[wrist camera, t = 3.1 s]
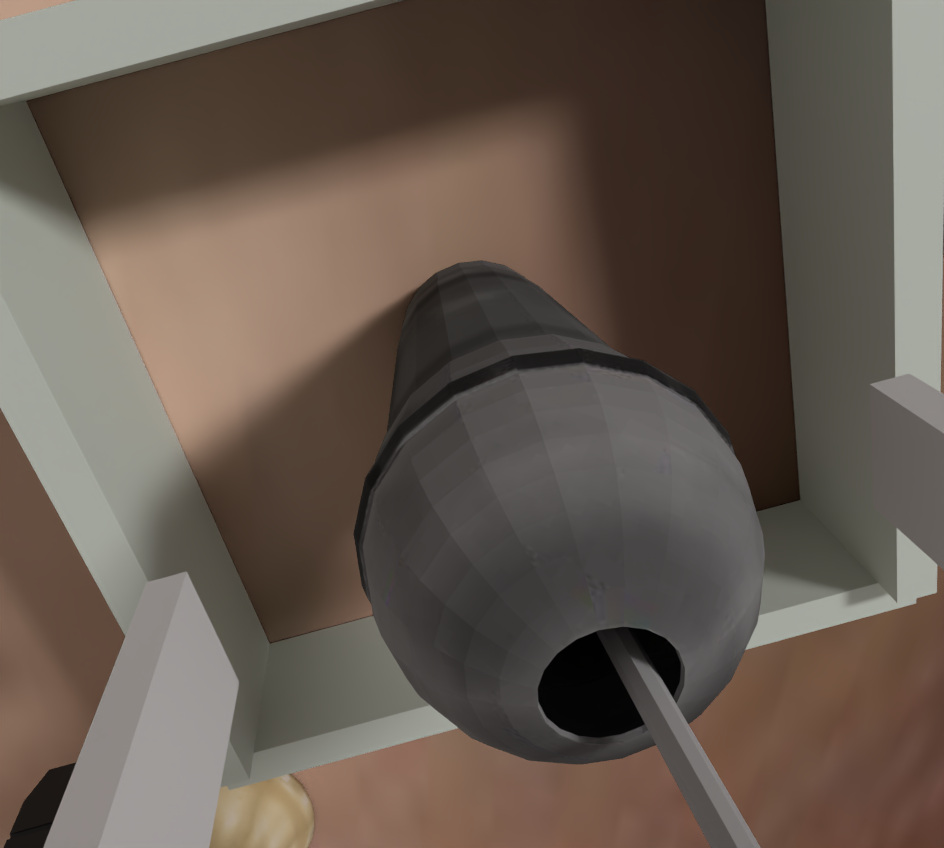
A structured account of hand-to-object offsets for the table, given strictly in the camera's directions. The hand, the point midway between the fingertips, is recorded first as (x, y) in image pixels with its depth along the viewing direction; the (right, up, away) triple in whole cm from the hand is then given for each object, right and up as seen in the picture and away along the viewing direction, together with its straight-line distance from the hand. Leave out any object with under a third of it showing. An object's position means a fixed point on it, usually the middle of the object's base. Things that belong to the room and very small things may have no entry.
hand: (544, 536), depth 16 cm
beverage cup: (-1, +5, +10) cm, 11 cm away
